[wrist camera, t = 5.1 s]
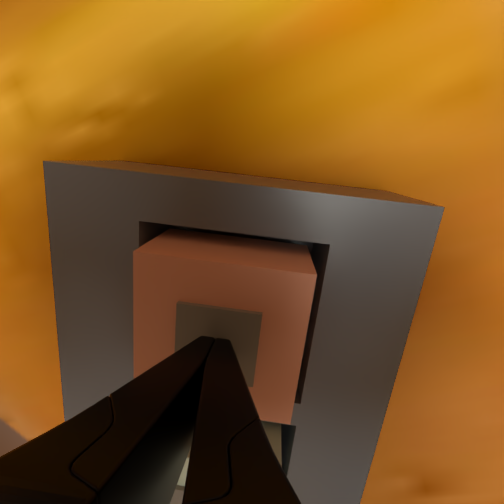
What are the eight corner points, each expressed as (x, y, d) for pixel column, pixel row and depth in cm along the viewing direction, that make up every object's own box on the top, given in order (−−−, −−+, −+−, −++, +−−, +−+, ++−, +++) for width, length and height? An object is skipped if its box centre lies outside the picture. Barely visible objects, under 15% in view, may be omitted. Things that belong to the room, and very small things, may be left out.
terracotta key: (287, 364, 13) (290, 428, 10) (165, 347, 13) (131, 404, 10) (306, 245, 11) (317, 276, 8) (169, 228, 11) (130, 253, 8)
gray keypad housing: (305, 546, 20) (313, 664, 16) (126, 516, 21) (81, 621, 16) (386, 190, 14) (444, 207, 9) (121, 160, 14) (43, 160, 10)
